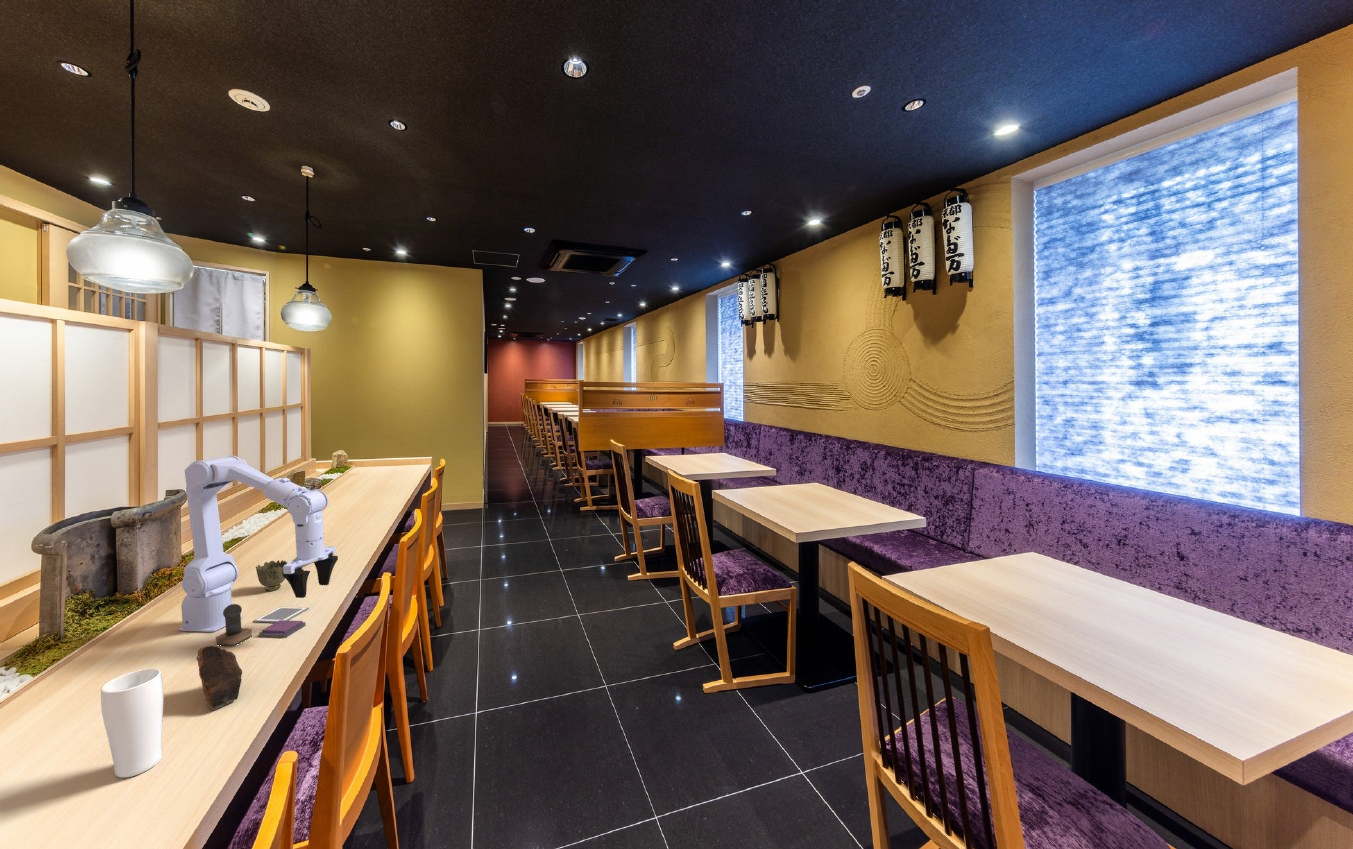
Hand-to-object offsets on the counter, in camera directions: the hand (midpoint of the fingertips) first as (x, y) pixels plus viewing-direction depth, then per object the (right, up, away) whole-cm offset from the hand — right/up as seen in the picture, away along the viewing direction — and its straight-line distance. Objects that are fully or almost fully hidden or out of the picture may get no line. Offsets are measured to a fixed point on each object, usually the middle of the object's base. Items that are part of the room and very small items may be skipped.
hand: (312, 590), depth 126 cm
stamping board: (-14, -9, +8) cm, 19 cm away
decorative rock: (+1, -13, -27) cm, 29 cm away
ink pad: (-7, -10, -1) cm, 12 cm away
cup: (-30, -8, +25) cm, 40 cm away
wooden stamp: (-15, -11, -6) cm, 19 cm away
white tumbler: (+5, -14, -45) cm, 48 cm away
